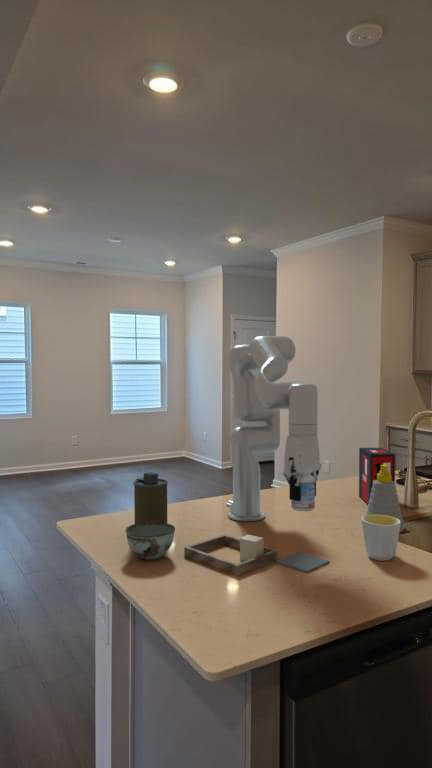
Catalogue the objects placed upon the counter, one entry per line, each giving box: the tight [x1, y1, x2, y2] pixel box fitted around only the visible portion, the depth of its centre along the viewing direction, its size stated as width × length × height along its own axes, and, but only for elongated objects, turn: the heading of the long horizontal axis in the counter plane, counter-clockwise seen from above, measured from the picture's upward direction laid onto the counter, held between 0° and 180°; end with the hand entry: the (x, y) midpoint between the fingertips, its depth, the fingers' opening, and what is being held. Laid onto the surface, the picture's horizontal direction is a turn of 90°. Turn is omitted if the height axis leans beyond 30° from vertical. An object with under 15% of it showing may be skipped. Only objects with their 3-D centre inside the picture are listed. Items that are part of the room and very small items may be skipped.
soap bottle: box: [366, 463, 405, 533], centre depth 172 cm, size 12×12×20 cm
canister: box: [132, 471, 169, 524], centre depth 162 cm, size 11×10×20 cm
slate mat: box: [275, 551, 330, 574], centre depth 141 cm, size 10×10×1 cm
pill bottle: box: [290, 468, 316, 512], centre depth 141 cm, size 6×6×11 cm
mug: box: [361, 514, 401, 562], centre depth 147 cm, size 14×10×10 cm
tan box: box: [239, 534, 265, 562], centre depth 143 cm, size 5×4×6 cm
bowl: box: [124, 522, 176, 562], centre depth 146 cm, size 14×13×8 cm
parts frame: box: [183, 534, 279, 577], centre depth 145 cm, size 20×16×2 cm
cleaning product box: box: [358, 447, 396, 506], centre depth 204 cm, size 16×9×20 cm, turn 179°
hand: (302, 497), depth 141 cm, fingers closed on pill bottle, 6 cm apart
